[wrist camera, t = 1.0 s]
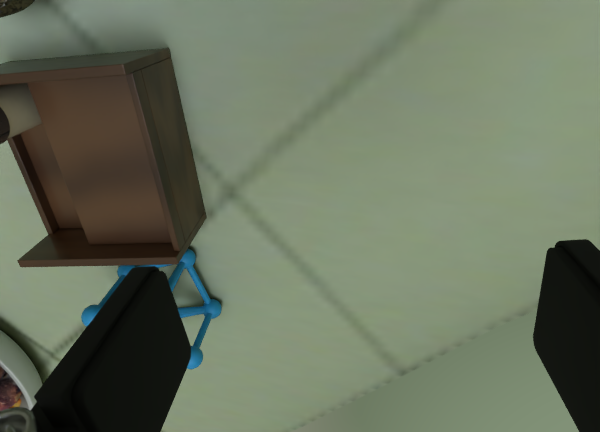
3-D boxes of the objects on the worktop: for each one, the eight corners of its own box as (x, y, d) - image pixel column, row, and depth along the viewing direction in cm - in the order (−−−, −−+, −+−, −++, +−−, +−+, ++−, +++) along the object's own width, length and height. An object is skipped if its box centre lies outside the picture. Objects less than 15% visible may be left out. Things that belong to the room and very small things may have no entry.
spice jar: (3, 79, 38) (-66, 98, 32) (45, 76, 37) (-16, 94, 31) (21, 125, 40) (-39, 151, 34) (62, 122, 39) (8, 148, 33)
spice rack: (9, 61, 40) (-73, 79, 32) (169, 47, 38) (123, 63, 30) (73, 221, 48) (20, 267, 40) (206, 217, 46) (178, 264, 38)
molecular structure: (193, 242, 48) (159, 299, 39) (226, 307, 52) (202, 372, 44) (119, 260, 50) (72, 317, 42) (157, 321, 55) (121, 385, 46)
